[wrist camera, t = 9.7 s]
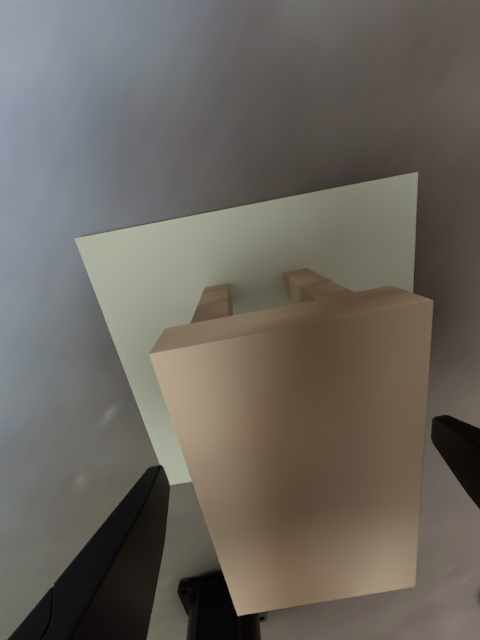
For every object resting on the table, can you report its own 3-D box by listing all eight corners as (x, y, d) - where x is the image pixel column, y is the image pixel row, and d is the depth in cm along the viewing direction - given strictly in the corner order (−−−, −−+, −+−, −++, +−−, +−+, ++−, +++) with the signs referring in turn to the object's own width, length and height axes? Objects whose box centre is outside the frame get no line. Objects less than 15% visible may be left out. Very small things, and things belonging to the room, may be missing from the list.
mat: (402, 439, 18) (406, 444, 17) (169, 480, 18) (167, 485, 17) (412, 173, 12) (418, 171, 12) (79, 238, 13) (74, 238, 12)
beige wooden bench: (313, 258, 13) (433, 300, 5) (328, 420, 16) (415, 586, 9) (194, 281, 13) (149, 354, 6) (233, 437, 16) (237, 615, 9)
